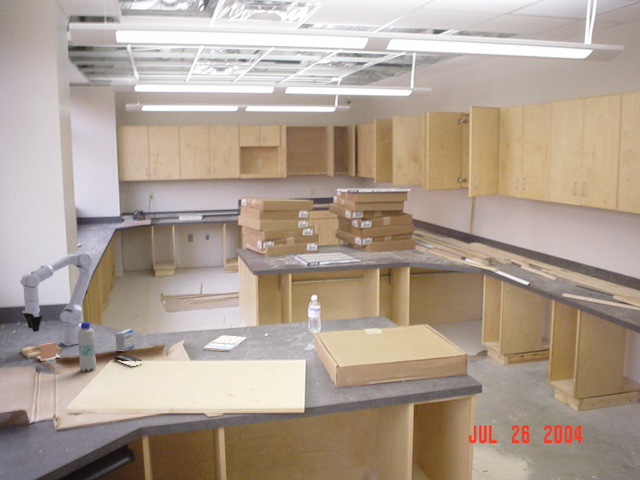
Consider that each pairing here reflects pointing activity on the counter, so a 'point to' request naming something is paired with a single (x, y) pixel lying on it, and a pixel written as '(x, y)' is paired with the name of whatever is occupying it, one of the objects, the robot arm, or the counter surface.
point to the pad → (51, 357)
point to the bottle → (86, 347)
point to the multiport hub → (126, 358)
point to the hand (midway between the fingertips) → (33, 329)
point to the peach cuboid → (47, 350)
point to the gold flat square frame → (36, 350)
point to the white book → (224, 343)
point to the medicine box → (124, 339)
